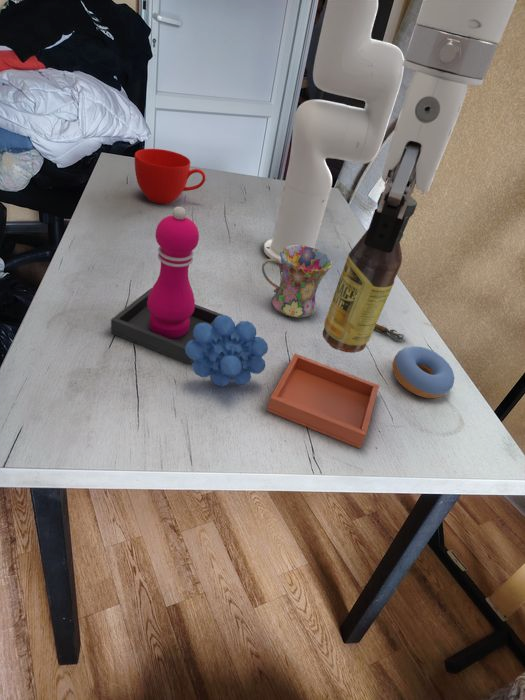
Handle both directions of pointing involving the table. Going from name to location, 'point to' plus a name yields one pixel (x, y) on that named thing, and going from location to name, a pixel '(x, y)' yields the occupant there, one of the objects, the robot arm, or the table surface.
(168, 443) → the table surface
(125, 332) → the charcoal tray
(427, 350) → the doughnut
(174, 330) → the pepper mill
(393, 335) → the can opener
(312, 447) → the table surface
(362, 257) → the sauce bottle
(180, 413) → the table surface
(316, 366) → the terracotta tray
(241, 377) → the blue knobbed flower
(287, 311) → the mug
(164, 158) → the ceramic cup
